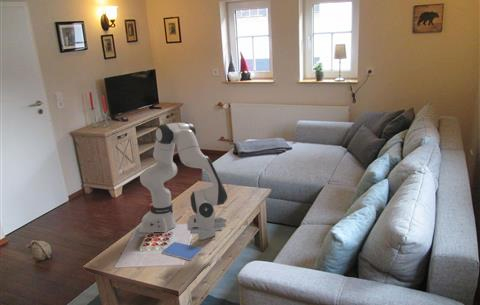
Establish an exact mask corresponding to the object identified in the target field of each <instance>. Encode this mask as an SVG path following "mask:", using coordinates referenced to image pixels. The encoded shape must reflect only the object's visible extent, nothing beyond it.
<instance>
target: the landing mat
mask: <svg viewBox="0 0 480 305" xmlns="http://www.w3.org/2000/svg"><path fill="white" fill-rule="evenodd" d="M218 231H219V232H221V231H223V228H215V232H218ZM190 234H198V230H191V231H190Z"/></svg>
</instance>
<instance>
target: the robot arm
mask: <svg viewBox="0 0 480 305" xmlns="http://www.w3.org/2000/svg"><path fill="white" fill-rule="evenodd" d="M196 131H197V130H196V127H195V125H193V124H192V123H191V122H173V123H172V122H171V123H163V124H159V125H158V126H157V127H156V129H155V143H154V147H153V154H152V156H153V158H154V160H155V161H157V162H156V163H155V165H153V166H150V167H148V168H146V169H145V170H144V171H142V172H141V173H140V175H139V181H140V184H141V185H142V186H144V187H145V188H147V189H148V191H149V192H150V194H151V201H152V202H151V203H149V211H148V212H146V214H144V215H143V217H142V219H141V222H140V223H139V225H138V232H139V233H141V234H155V233H154V232H165V233H167V232H168V231H169V230H173V229H174V228H175V227H176V226H177V222H176V219H175V216H174V205H173V202H172V193H171V191H170V190H169V188H167V187H165V186H164V185H165V184H164V183H165V182H167V181H170V180H171V179H173V178H174V177H175V176H176V175H177V173H178V166H177V164H176V163H175V162H174V160H173V159H174V151H175V148H177V152H178V156H179V159H180V162H181V163H182V164H184V166H187V167H189V168H194V169H201V170H204V171H205V172H206V173H207V174H208V177H209V179H210V181H211V183H212V185H211V186H209V187H205V188H200V189H197V190H194V191H192V193H191V195H190V206H191V210H192V211H193V213H194V214H191V215H189V217H188V220H187V228H186V229H187V231H189V232H191V230H202V229H204V230H209V229H213V228H222V229H223V228H225V227H226V226H227V224H226V223H227V221H228V220H227V218H225V217H223V216H219V217H218V216H217V217H216V211H215V206H220V205H224V204H225V203H226V201H227V200H228V192H227V189H226V188H225V186H224V185H223V182H222V181H221V178H220V177H219V175H218V173H217V170H216V168H215V166H214V164H213V162H212V161H211V159H210V157H209V156H207V155H206V154H204V153H203V152H202V150H201V149H200V145H199V142H198V140H197V137H196V135H197V134H196V133H197V132H196Z"/></svg>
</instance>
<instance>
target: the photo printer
mask: <svg viewBox="0 0 480 305" xmlns="http://www.w3.org/2000/svg"><path fill="white" fill-rule="evenodd" d="M197 234H198V240H199V241H203V240H206V239H210V238H213V237H214V236H216V231H215V228H213V229H209V230H204V229H202V230H198V233H197Z"/></svg>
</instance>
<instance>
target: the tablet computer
mask: <svg viewBox="0 0 480 305" xmlns="http://www.w3.org/2000/svg"><path fill="white" fill-rule="evenodd" d="M203 251H204V248H202V247H198V246H195V245H190V244H186V243H181V242H177V241H174V242H172V243H171V244H170V245H168V246H167V247H165V248H164V249H163V250H161V254H162V253H163V254H162V255H166V254H167V256H170V257H174V258H179V259H183V260H186V261H193V260H194V259H195V258H196V257H198V255H199V254H200V253H201V252H203Z"/></svg>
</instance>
